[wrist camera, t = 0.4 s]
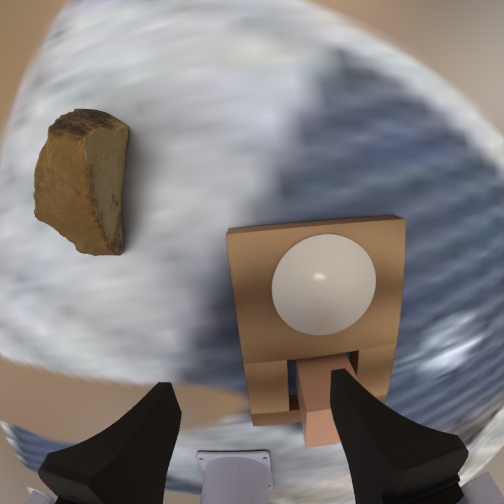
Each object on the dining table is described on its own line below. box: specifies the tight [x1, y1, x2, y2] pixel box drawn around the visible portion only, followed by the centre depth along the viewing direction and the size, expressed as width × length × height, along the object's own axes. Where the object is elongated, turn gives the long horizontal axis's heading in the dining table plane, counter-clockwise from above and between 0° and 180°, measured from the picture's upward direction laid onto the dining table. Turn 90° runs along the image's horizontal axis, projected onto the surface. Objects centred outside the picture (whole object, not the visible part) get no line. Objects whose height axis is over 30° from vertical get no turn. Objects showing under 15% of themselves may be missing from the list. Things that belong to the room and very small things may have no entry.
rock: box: [34, 109, 129, 256], centre depth 17 cm, size 11×9×10 cm
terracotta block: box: [295, 353, 359, 448], centre depth 20 cm, size 4×4×7 cm
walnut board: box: [226, 215, 405, 426], centre depth 21 cm, size 17×12×2 cm
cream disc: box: [272, 233, 376, 335], centre depth 19 cm, size 7×7×1 cm
